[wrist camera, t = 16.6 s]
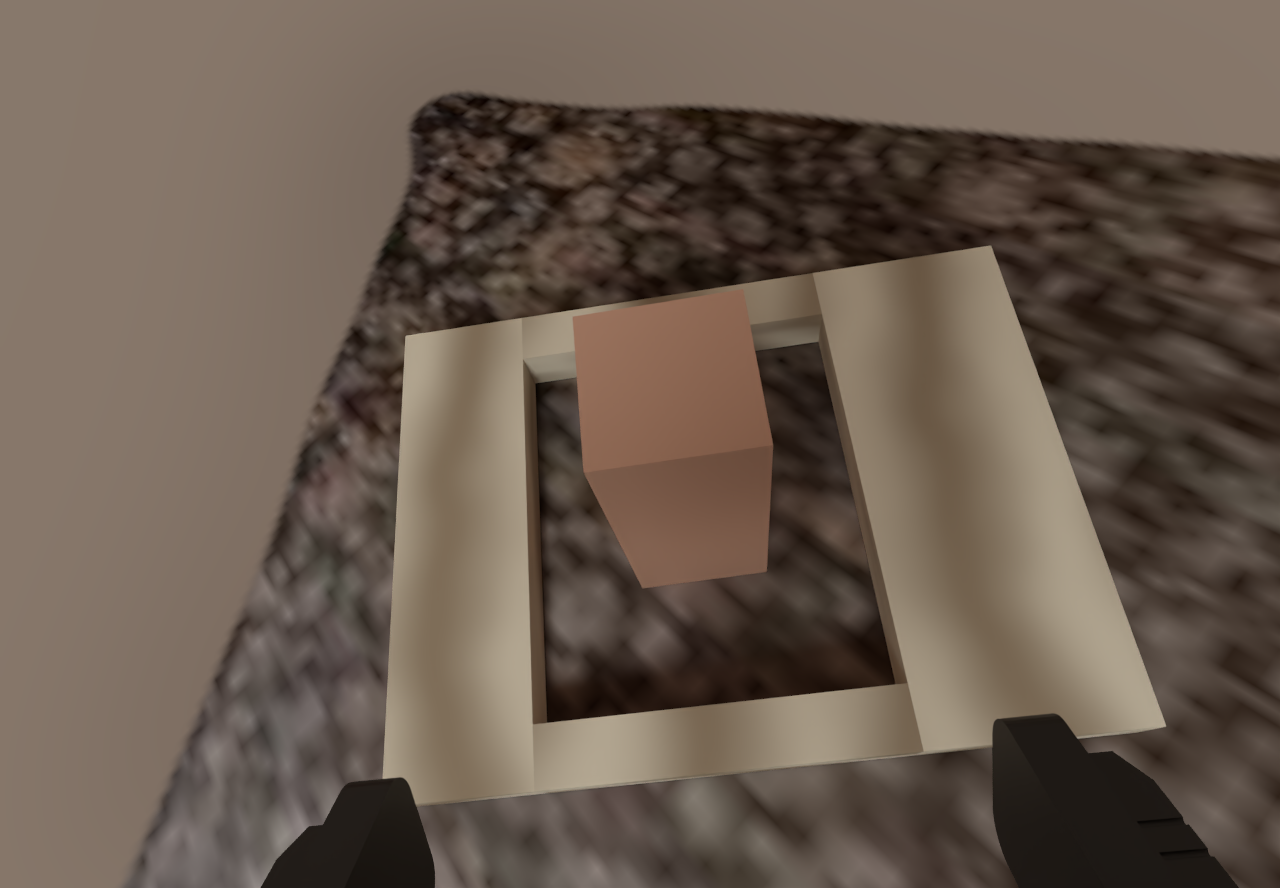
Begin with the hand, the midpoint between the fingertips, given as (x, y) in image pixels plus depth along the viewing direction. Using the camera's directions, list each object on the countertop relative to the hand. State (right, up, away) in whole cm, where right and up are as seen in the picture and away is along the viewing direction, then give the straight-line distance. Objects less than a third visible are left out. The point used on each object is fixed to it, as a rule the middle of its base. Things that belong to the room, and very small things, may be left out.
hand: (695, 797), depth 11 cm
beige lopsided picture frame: (+2, +2, +19) cm, 19 cm away
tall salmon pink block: (+1, +2, +19) cm, 19 cm away
